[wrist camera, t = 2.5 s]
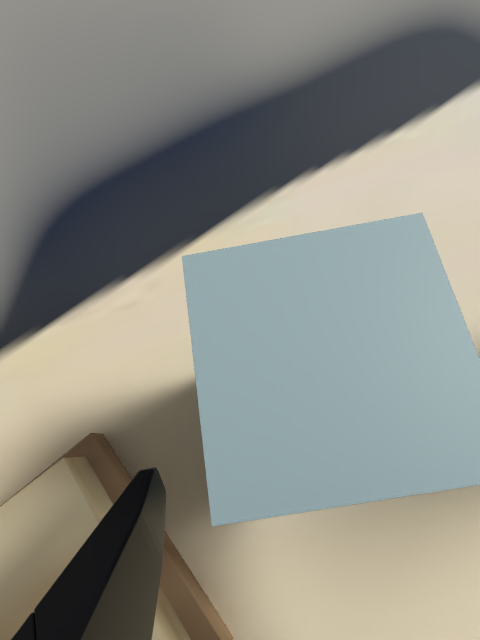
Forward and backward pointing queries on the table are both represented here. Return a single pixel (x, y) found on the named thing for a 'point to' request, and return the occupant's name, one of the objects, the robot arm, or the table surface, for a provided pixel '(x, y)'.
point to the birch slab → (55, 542)
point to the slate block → (331, 371)
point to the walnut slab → (176, 576)
